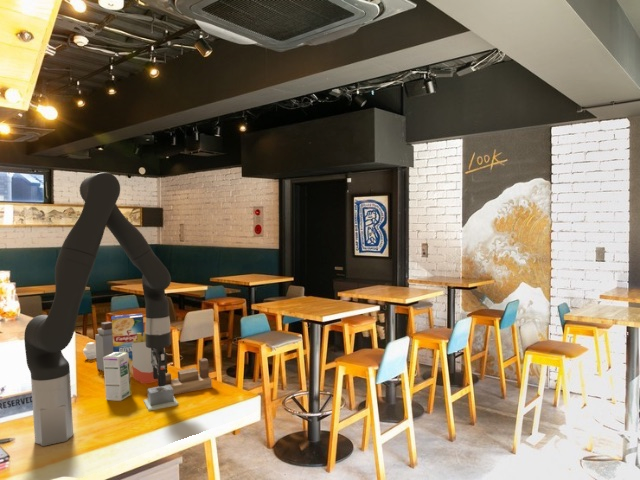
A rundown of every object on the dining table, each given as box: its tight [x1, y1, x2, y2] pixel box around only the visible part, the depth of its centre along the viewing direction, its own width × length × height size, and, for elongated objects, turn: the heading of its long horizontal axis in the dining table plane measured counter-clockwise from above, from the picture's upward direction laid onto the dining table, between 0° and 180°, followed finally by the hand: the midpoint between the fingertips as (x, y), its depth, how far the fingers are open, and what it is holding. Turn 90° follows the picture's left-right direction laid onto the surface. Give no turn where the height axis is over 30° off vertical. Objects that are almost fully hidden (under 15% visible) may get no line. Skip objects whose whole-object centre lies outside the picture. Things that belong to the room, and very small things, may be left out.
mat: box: [143, 397, 180, 412], centre depth 161 cm, size 9×9×1 cm
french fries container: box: [132, 332, 166, 384], centre depth 183 cm, size 5×11×18 cm, turn 113°
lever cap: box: [146, 385, 175, 406], centre depth 161 cm, size 5×7×4 cm
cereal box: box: [111, 312, 145, 378], centre depth 191 cm, size 7×11×22 cm, turn 112°
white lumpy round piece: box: [82, 341, 96, 360], centre depth 214 cm, size 6×6×7 cm
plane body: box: [166, 357, 213, 395], centre depth 173 cm, size 7×16×9 cm, turn 118°
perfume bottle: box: [94, 321, 113, 372], centre depth 199 cm, size 7×7×18 cm
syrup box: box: [103, 352, 132, 402], centre depth 166 cm, size 6×6×14 cm
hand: (159, 382), depth 160 cm, fingers open, 8 cm apart
